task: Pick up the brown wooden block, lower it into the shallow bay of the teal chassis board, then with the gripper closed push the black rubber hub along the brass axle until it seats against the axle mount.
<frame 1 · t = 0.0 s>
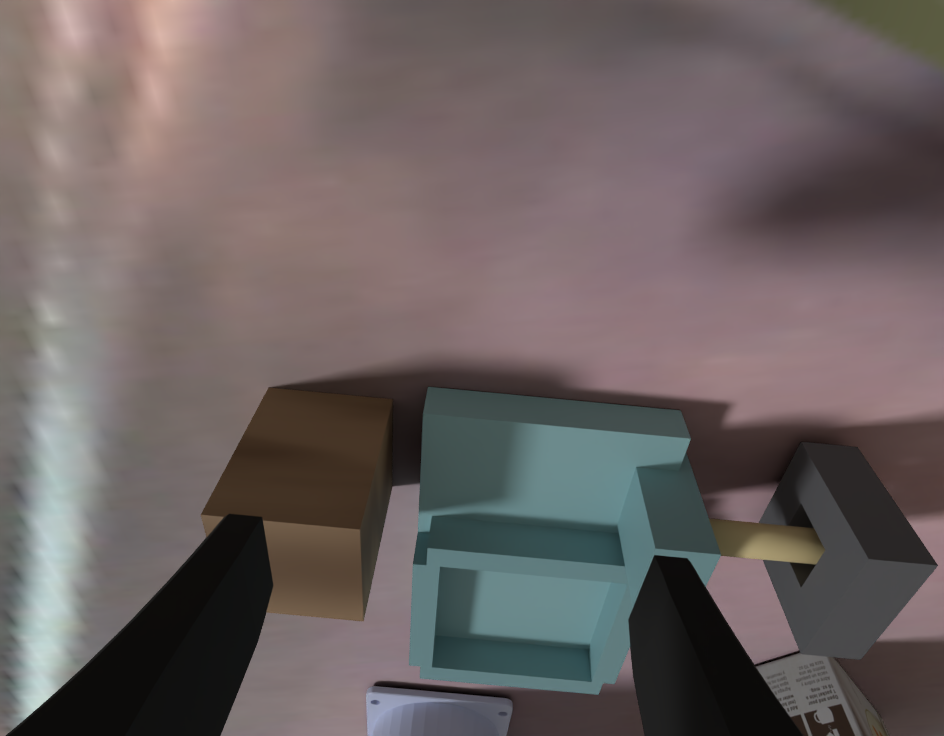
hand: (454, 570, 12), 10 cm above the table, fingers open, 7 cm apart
hub: (830, 547, 21), point 3 cm above the table, slide at 3.5 cm
brown wooden block: (334, 439, 24), on the table
chassis: (528, 529, 26), on the table
coffee box: (795, 696, 33), on the table
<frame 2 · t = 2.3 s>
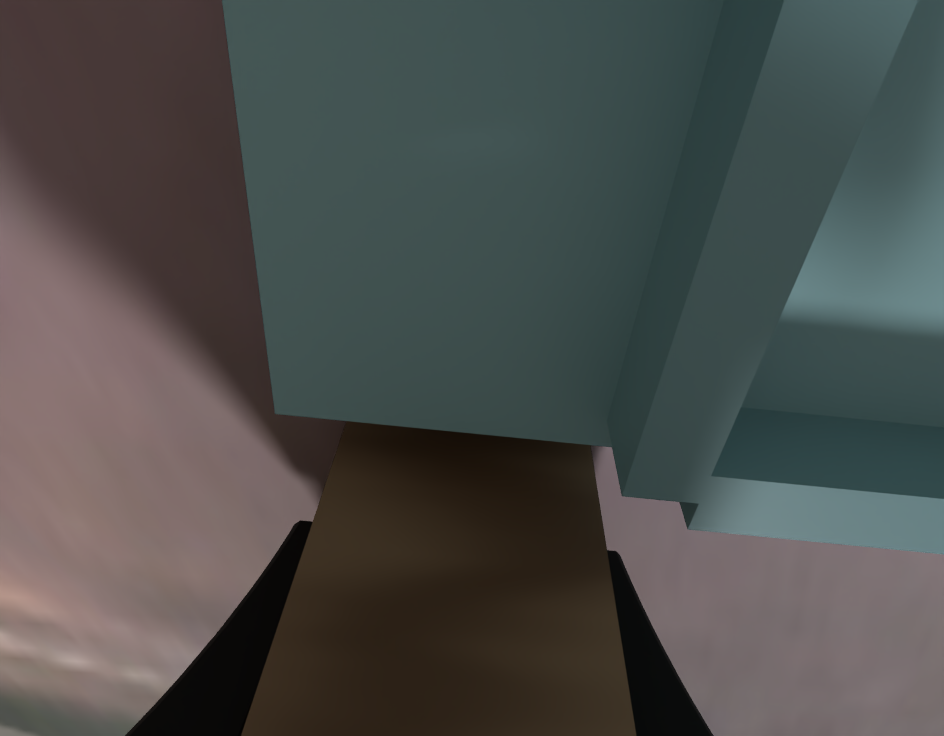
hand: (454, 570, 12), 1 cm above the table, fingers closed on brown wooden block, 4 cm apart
brown wooden block: (459, 512, 13), on the table, touching gripper
chassis: (807, 130, 8), on the table
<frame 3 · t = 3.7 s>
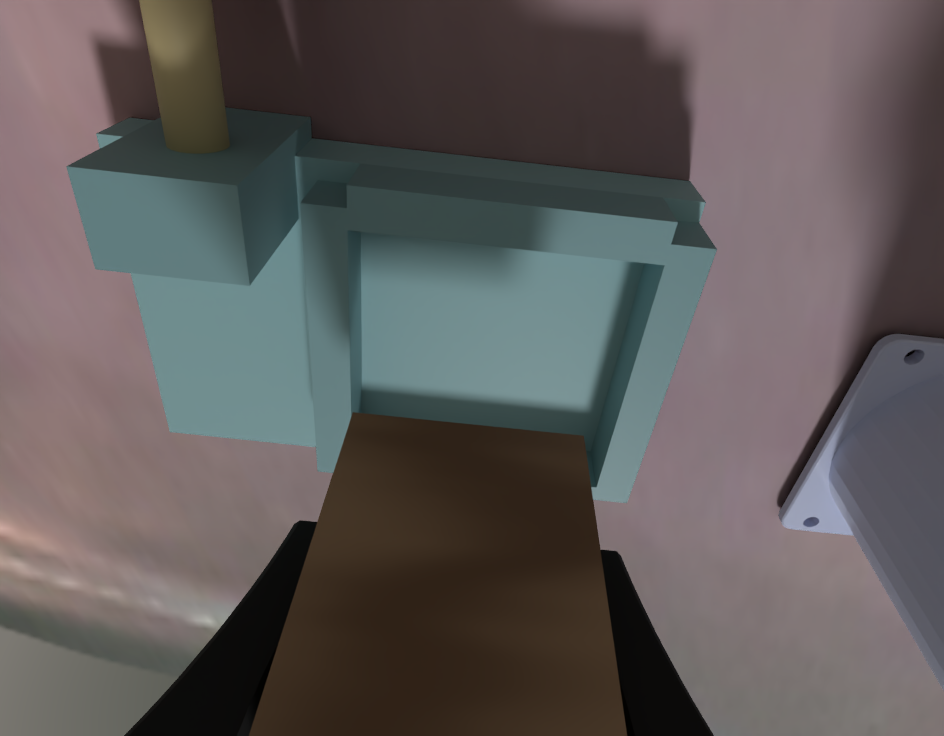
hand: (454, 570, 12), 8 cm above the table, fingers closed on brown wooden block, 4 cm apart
brown wooden block: (459, 502, 13), point 6 cm above the table, touching gripper
chassis: (405, 306, 18), on the table
when the fingers open (4 cm above the table, at t = 5.5 s): brown wooden block stays where it is, resting on chassis.
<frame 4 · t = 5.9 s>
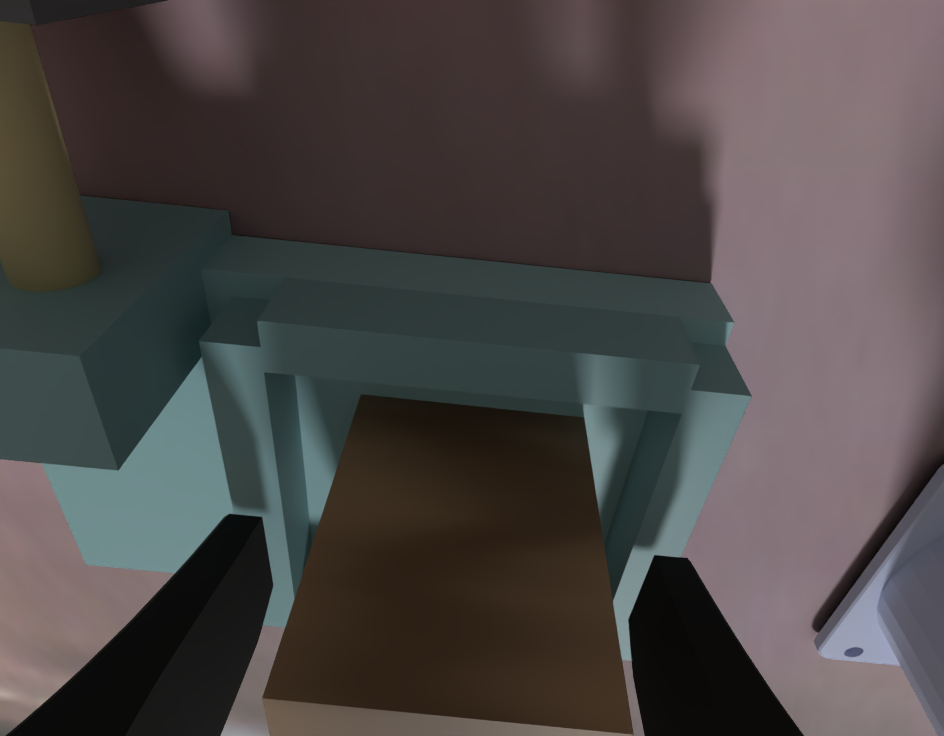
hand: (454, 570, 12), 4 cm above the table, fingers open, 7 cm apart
brown wooden block: (463, 484, 14), point 1 cm above the table, touching chassis
chassis: (362, 422, 15), on the table
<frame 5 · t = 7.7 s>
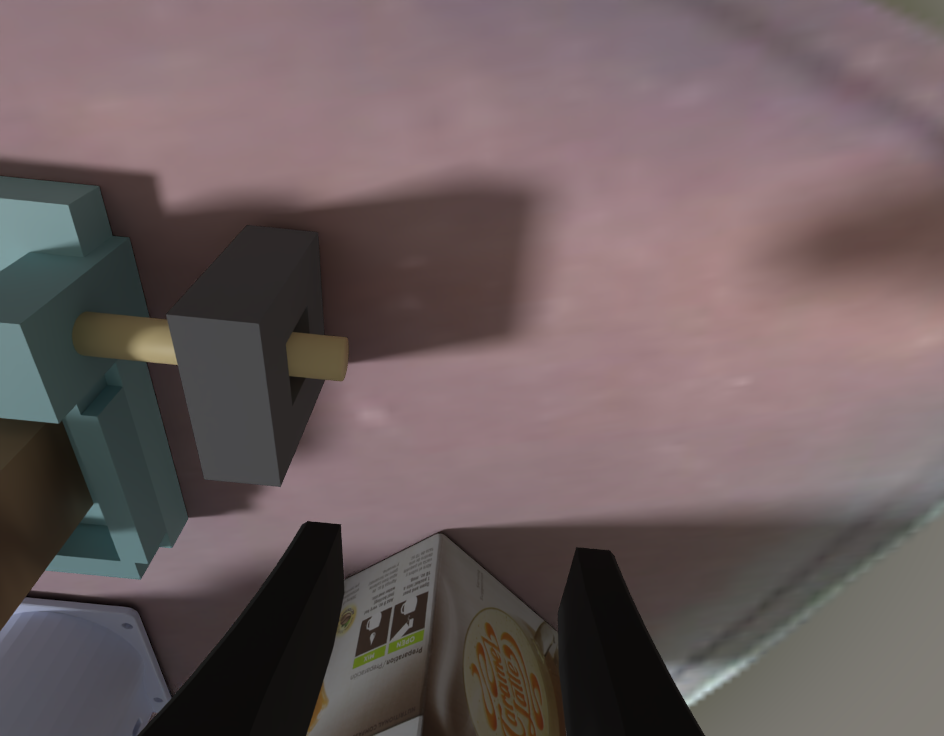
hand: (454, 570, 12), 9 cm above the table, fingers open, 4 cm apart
hub: (263, 351, 17), point 3 cm above the table, slide at 3.5 cm
brown wooden block: (12, 453, 22), point 1 cm above the table, touching chassis
chassis: (22, 370, 21), on the table
coffee box: (453, 604, 28), on the table
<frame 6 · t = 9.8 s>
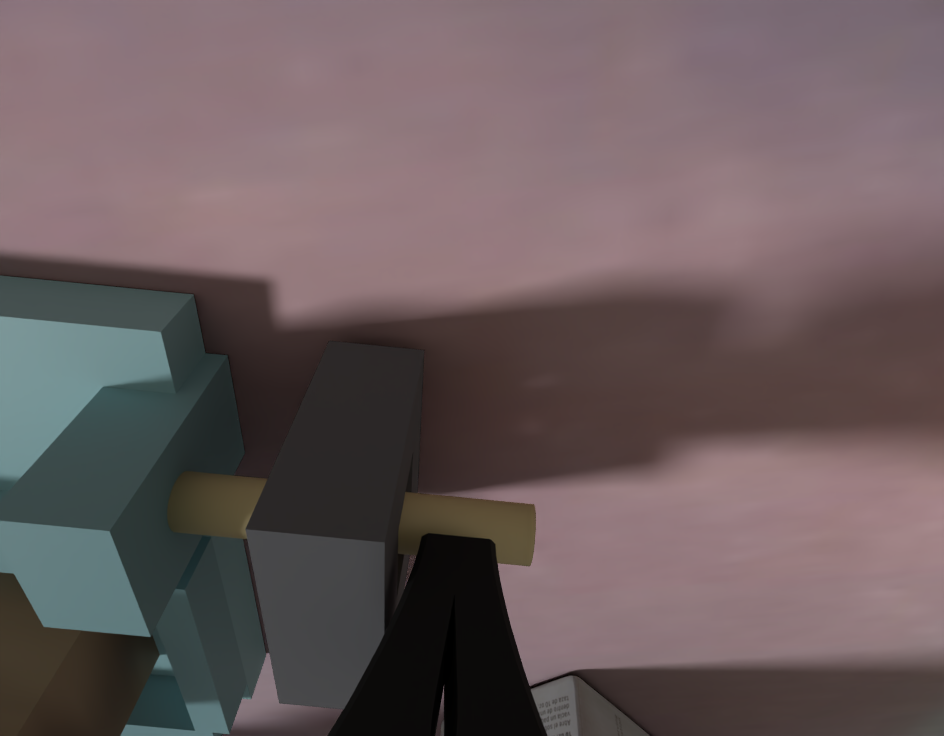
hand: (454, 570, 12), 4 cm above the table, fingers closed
hub: (355, 517, 12), point 3 cm above the table, slide at 2.2 cm, touching gripper
brown wooden block: (63, 603, 17), point 1 cm above the table, touching chassis
chassis: (76, 501, 17), on the table
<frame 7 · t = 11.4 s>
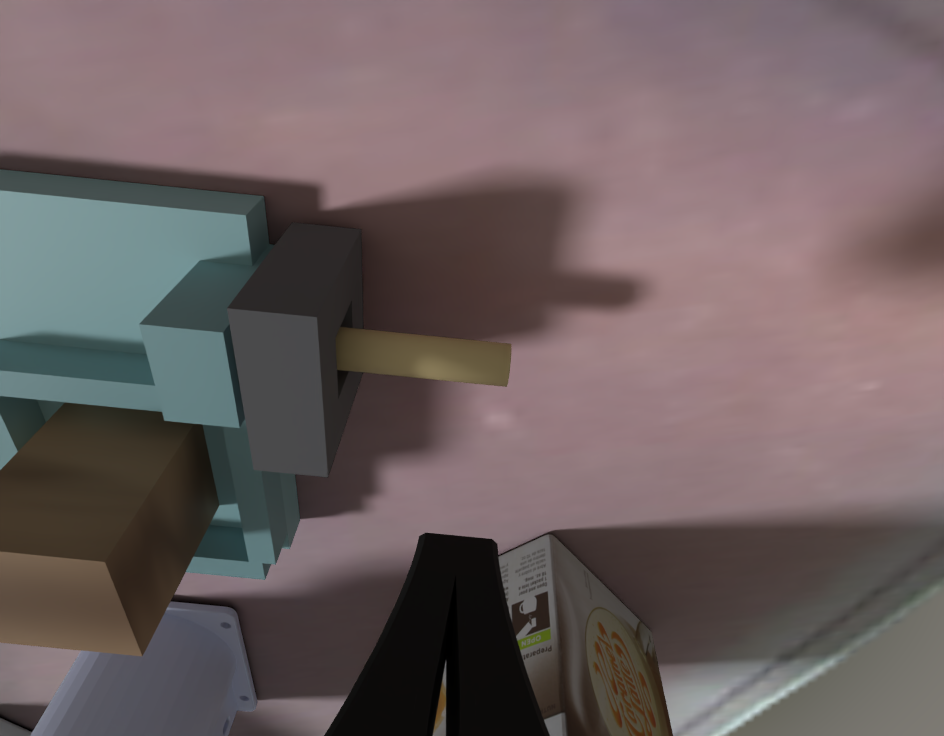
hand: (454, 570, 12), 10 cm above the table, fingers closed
hub: (309, 345, 17), point 3 cm above the table, slide at 0.1 cm
brown wooden block: (147, 456, 22), point 1 cm above the table, touching chassis
chassis: (158, 375, 22), on the table
coffee box: (550, 604, 29), on the table
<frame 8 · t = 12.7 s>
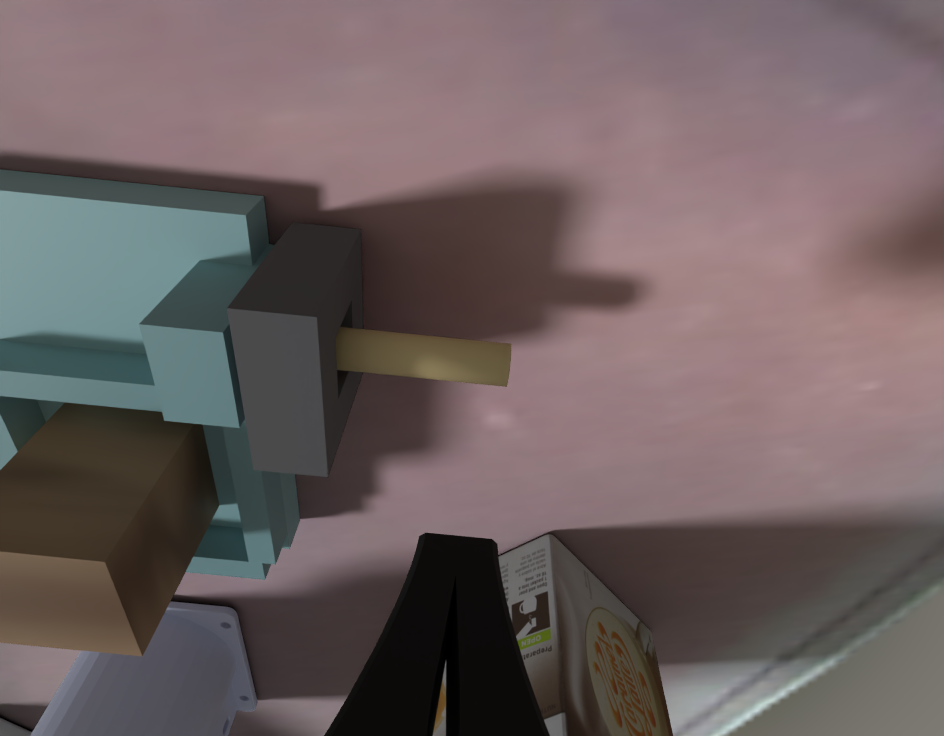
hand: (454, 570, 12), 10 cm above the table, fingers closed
hub: (309, 345, 17), point 3 cm above the table, slide at 0.1 cm
brown wooden block: (147, 456, 22), point 1 cm above the table, touching chassis
chassis: (158, 375, 22), on the table
coffee box: (550, 604, 29), on the table
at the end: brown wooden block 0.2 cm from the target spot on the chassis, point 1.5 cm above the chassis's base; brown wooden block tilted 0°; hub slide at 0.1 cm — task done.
